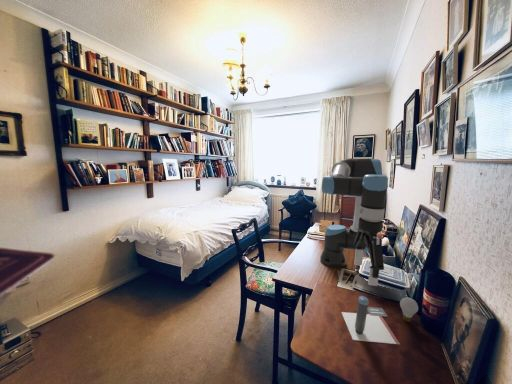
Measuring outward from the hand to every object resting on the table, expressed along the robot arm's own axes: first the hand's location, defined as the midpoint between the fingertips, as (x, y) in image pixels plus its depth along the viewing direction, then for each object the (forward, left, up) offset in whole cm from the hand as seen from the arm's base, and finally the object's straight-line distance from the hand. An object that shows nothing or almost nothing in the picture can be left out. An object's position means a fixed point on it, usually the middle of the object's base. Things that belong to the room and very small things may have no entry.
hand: (364, 274), depth 79 cm
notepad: (-1, +4, -22) cm, 23 cm away
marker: (+2, -1, -22) cm, 22 cm away
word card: (-10, +11, -22) cm, 27 cm away
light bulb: (-6, +21, -23) cm, 31 cm away
